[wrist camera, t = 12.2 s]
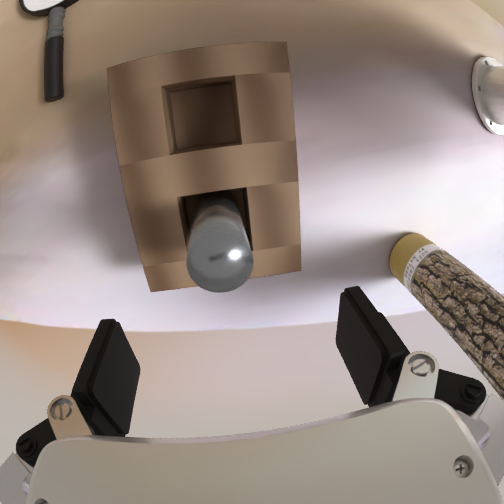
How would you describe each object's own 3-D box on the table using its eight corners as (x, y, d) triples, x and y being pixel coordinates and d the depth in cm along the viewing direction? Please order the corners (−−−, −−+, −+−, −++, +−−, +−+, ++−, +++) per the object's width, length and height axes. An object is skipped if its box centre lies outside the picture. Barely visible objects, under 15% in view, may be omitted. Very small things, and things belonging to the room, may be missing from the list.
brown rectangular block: (271, 57, 23) (286, 42, 17) (286, 244, 32) (301, 270, 26) (127, 77, 22) (106, 68, 16) (160, 262, 31) (150, 292, 25)
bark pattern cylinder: (388, 283, 36) (499, 420, 14) (384, 241, 33) (528, 381, 11) (425, 265, 36) (540, 380, 14) (424, 224, 33) (566, 335, 11)
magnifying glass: (18, 117, 21) (7, 117, 19) (34, -36, 11) (27, -41, 9) (109, 83, 22) (102, 80, 20) (120, -71, 12) (116, -79, 10)
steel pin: (234, 184, 27) (250, 228, 16) (239, 223, 29) (256, 287, 18) (193, 190, 27) (180, 238, 16) (199, 228, 28) (193, 296, 18)
